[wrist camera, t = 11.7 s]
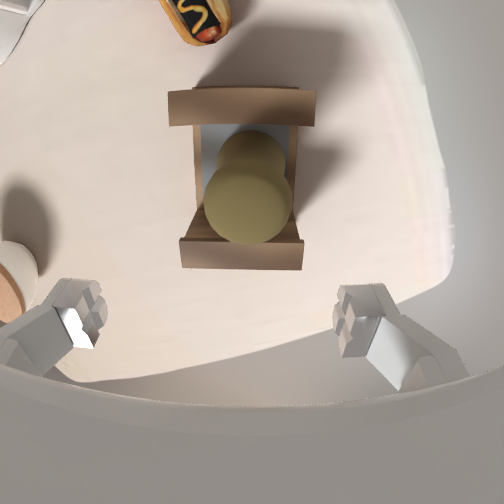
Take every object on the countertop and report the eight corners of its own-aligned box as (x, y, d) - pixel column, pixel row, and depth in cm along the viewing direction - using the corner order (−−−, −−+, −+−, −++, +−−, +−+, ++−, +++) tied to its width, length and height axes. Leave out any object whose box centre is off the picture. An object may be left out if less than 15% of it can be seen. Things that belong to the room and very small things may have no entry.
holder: (192, 87, 23) (167, 87, 16) (299, 87, 23) (316, 86, 16) (199, 227, 30) (182, 270, 24) (291, 229, 30) (301, 273, 23)
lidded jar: (1, 272, 35) (-31, 309, 26) (-2, 216, 30) (-44, 250, 21) (49, 302, 37) (20, 345, 29) (51, 246, 32) (11, 290, 24)
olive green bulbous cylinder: (299, 162, 25) (325, 211, 16) (253, 208, 28) (251, 278, 18) (248, 115, 23) (242, 134, 14) (202, 166, 26) (170, 217, 16)
